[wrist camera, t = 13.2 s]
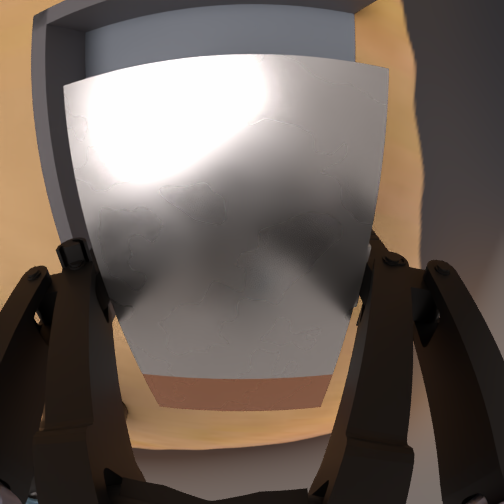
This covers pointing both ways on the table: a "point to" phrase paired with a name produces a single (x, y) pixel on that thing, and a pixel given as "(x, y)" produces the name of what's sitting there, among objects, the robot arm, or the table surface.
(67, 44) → the corner tray
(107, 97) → the aluminium block
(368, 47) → the table surface
